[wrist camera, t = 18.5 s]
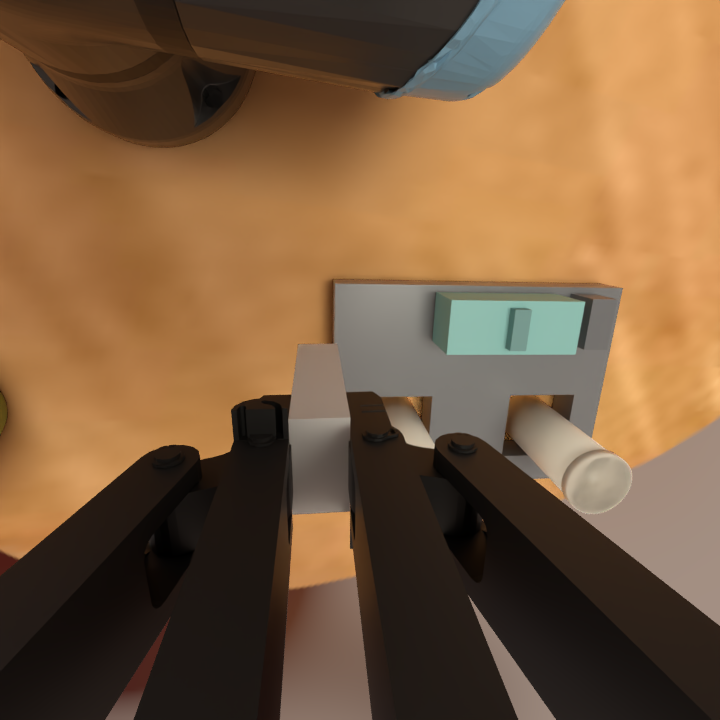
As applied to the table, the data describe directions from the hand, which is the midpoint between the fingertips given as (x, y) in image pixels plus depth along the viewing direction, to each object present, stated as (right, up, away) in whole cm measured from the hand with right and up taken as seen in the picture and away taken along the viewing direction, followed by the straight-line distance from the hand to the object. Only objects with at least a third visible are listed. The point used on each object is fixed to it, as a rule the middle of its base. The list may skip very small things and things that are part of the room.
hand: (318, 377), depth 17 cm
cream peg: (+17, -5, +25) cm, 31 cm away
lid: (+13, +4, +18) cm, 22 cm away
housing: (+11, -1, +23) cm, 26 cm away
